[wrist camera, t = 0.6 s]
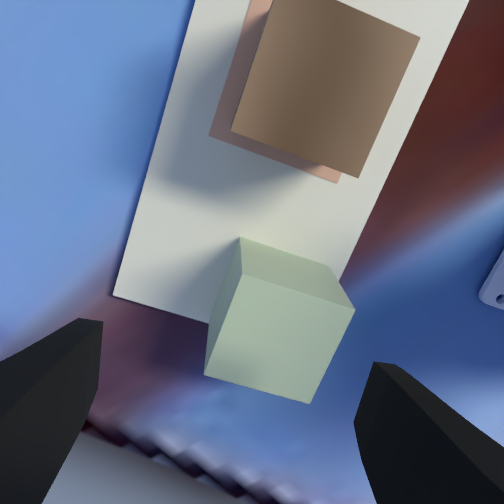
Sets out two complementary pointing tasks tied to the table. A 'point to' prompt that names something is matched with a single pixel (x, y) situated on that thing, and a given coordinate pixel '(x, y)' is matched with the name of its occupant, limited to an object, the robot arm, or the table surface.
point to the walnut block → (322, 81)
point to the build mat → (256, 162)
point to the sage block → (276, 322)
